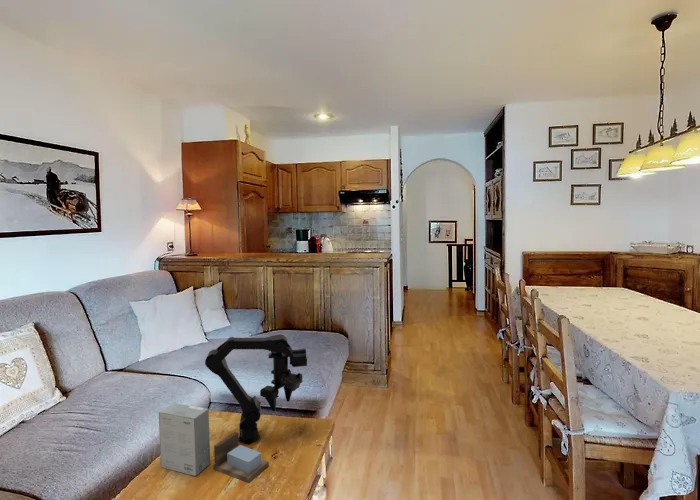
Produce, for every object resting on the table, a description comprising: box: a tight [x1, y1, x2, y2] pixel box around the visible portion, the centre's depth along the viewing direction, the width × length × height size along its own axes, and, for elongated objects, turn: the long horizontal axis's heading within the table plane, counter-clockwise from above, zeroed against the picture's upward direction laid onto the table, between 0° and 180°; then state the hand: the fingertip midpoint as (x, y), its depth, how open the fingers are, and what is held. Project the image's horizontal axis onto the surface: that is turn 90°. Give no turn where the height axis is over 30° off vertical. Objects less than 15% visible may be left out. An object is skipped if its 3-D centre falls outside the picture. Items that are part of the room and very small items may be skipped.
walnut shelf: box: [212, 431, 270, 483], centre depth 134 cm, size 16×10×8 cm, turn 63°
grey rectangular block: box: [227, 444, 262, 474], centre depth 133 cm, size 10×6×4 cm, turn 60°
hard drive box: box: [158, 403, 211, 477], centre depth 135 cm, size 16×8×20 cm, turn 71°
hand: (281, 406), depth 154 cm, fingers open, 9 cm apart
